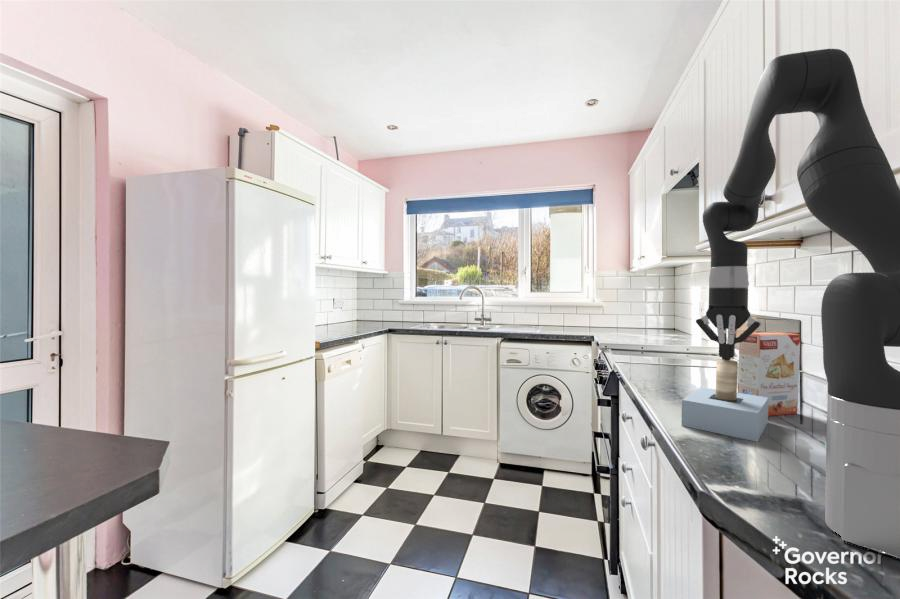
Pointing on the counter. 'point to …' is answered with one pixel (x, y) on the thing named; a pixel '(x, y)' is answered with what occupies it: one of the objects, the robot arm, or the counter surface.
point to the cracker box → (771, 369)
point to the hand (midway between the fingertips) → (726, 359)
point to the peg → (726, 380)
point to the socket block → (726, 414)
